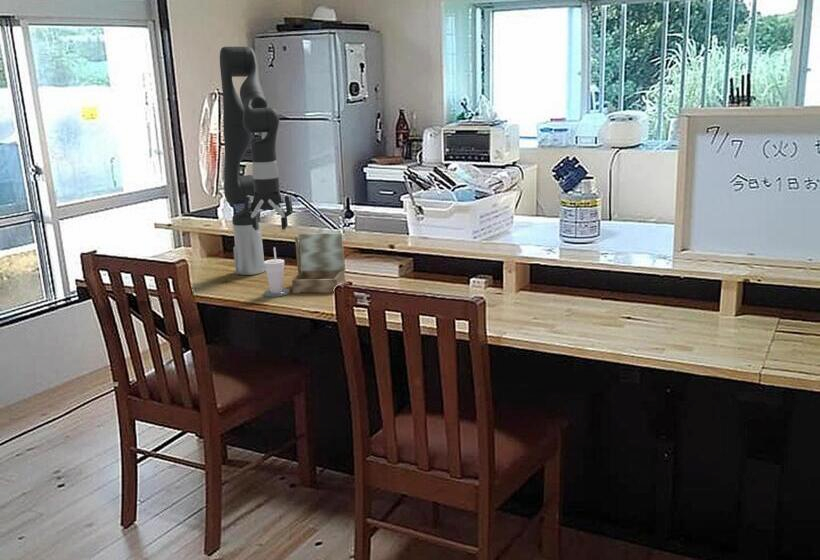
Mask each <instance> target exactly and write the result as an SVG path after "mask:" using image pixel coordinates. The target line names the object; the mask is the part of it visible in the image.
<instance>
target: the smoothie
mask: <svg viewBox="0 0 820 560" xmlns="http://www.w3.org/2000/svg"><path fill="white" fill-rule="evenodd" d="M276 250H277V249H276V247H275V246H274V247H273V255H274V258H272V259H267V260H264V266H265V272H266V276H267V280H268V284H269V285H268V286H269V290H271V293H281V292H283V288H284V269H285V268H284V267H285V260H284V259H281V258H277V251H276Z"/></svg>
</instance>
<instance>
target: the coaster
mask: <svg viewBox="0 0 820 560" xmlns="http://www.w3.org/2000/svg"><path fill="white" fill-rule="evenodd" d="M290 294H291V291H290V289H289V288H284V287H283V292H281V293H271V290H270V289H268V290H265V291H264V292H263V295H264V297H267V298H279V297H285V296H287V295H290Z"/></svg>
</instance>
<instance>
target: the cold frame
mask: <svg viewBox="0 0 820 560" xmlns="http://www.w3.org/2000/svg"><path fill="white" fill-rule="evenodd" d="M294 241H295V243H294V244H295V254H296V262H297V275H296V276H295V277H294V278H293V279H292V280H291V285H292V293H293V294H301V293H300V292H319V293H334V292H333V289H334V287H335V286H336V285H338V284H340V283H343V282H345V283H346V278H345V269H346V268H345V257H344V255H345V254H344V246H343V244H344V243H343V233H342V232H330V233H325V232H324V233H298V236H295V237H294Z"/></svg>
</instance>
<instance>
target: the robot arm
mask: <svg viewBox="0 0 820 560" xmlns="http://www.w3.org/2000/svg"><path fill="white" fill-rule="evenodd" d="M256 55H257V54H256V52H255V51H254V49H253V48H252V47H250V46H223V47H221V49H220V51H219V68H220V80H221V89H222V113H223V115H222V118H223V139H224V140H223V142H224V174H223V178H224V179H223V193H224V197H225V201H226V202H227V203H228V204H229V205H233V206H234V205H235V206H236V205H244V206H243V208H242V209H240V211H238V212H236V213H235V214H233V215H232V228H233V229H232V230H233V237H234V246H233V249H232V250H233V259H234V265H235V266H234V267H235V274H236V275H243V276H251V275H259V274H262V273H264V272H266V268H265V266H264V262H265V255H264V245H263V235H262V234H263V233H262V226H261V225H262V223H261V211H268V210H269V211H275V212H276V213H278V214H279V216H280V217H281V218H280V222H281V223H280V224H281V225H280V226H281V230H284V231H285V230H286V228H287V227H288V225H289V224H288V216H291V215H292V214H293V213H294V210H293V203H292V196H291V194H287V195H282V194H281V191H280V190H281V189H280V179H279V178H280V177H279V168H278V162H277V154H276V153H277V152H276V140H277V133H278V129H279V124H280V114H279V112H278V111H277V110H276V109H275V108H274V107H271V106H270V107H268V102H267V99H266V96H265V93H264V91H263V88H262V84H261V76H260V71H259V64H258V59H257V56H256ZM233 77H235V78H236V77H240V78H241V77H242V78H245V80H244V81H243V82H242V84H241V86H240V88H239V94H238V93H237V91H236V88H235V86H234V83H233ZM258 133H266V135H265V136H264V138H262V139H259V140H256V141H254V142H252V140H253V134H258ZM250 145H251V147H250ZM249 147H250V150H251V159H252V167H251V169H252V172H251V173H252V174H246V175H239V169H240V166H241V162H242V160H243V158H244V156H245V154H246V152H247V151H248V149H249ZM281 201H282V202H283V203H284V204H285V209H286V210H285V209H284V207H283V205H282V204H280V203H281Z"/></svg>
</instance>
